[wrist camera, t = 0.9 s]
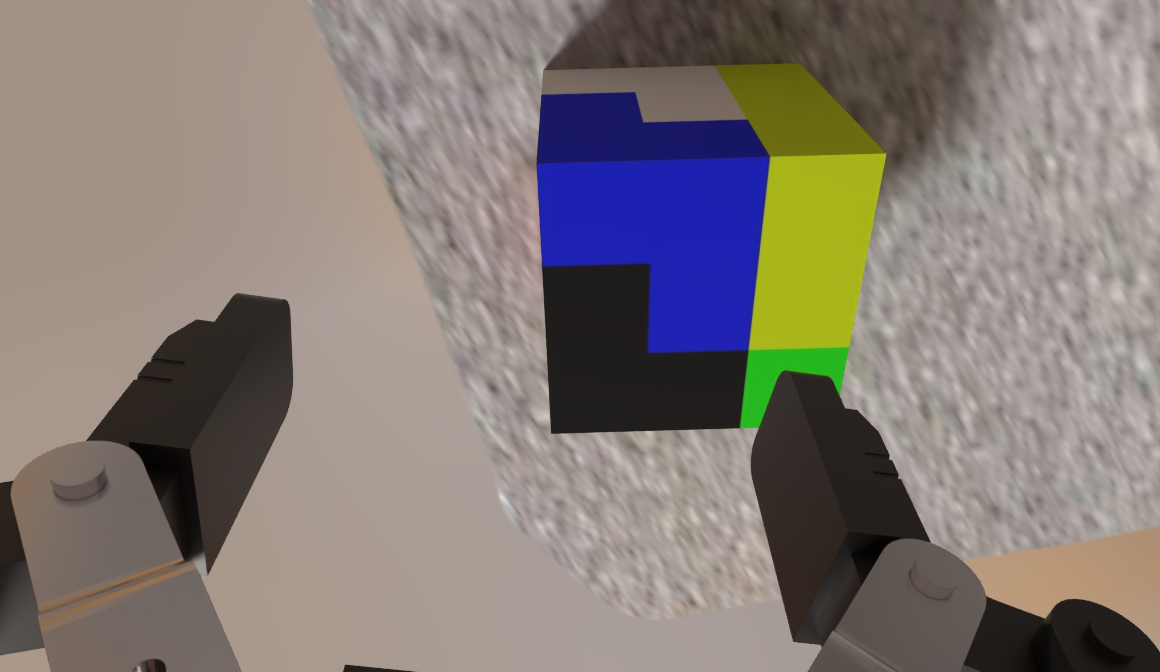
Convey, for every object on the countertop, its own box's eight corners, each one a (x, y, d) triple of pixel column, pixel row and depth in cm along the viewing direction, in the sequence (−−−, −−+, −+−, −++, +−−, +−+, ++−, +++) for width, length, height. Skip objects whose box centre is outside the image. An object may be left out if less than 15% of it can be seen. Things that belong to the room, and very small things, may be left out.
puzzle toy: (543, 69, 31) (536, 163, 23) (799, 62, 31) (886, 153, 23) (553, 292, 37) (551, 433, 28) (771, 286, 37) (833, 425, 28)
